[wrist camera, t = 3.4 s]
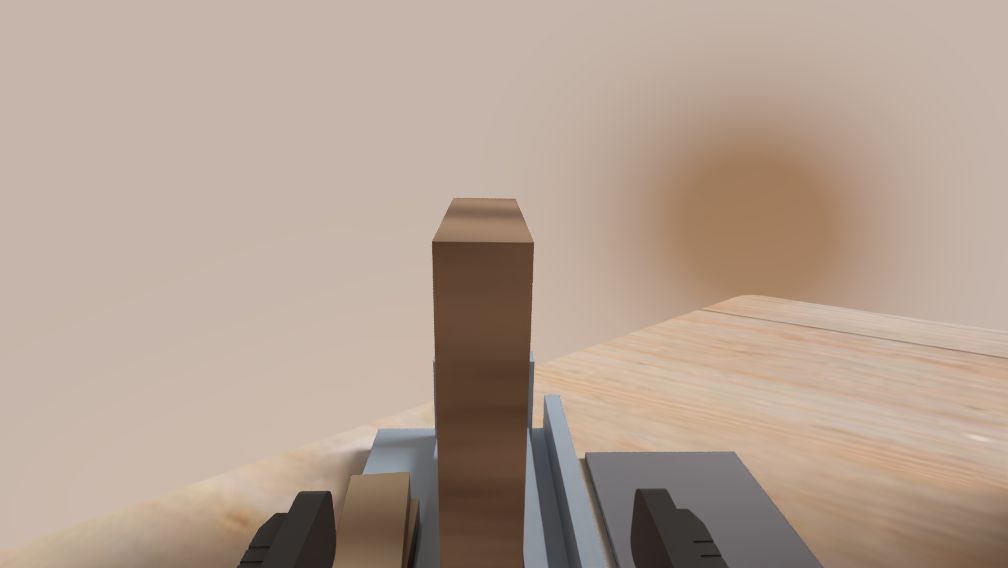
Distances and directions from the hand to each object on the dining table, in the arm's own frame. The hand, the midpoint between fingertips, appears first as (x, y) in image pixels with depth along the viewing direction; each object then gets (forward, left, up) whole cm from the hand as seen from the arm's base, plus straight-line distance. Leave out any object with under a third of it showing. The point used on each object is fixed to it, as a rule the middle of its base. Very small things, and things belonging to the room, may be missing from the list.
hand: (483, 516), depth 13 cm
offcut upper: (-2, -8, -8) cm, 12 cm away
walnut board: (-6, -6, -9) cm, 13 cm away
